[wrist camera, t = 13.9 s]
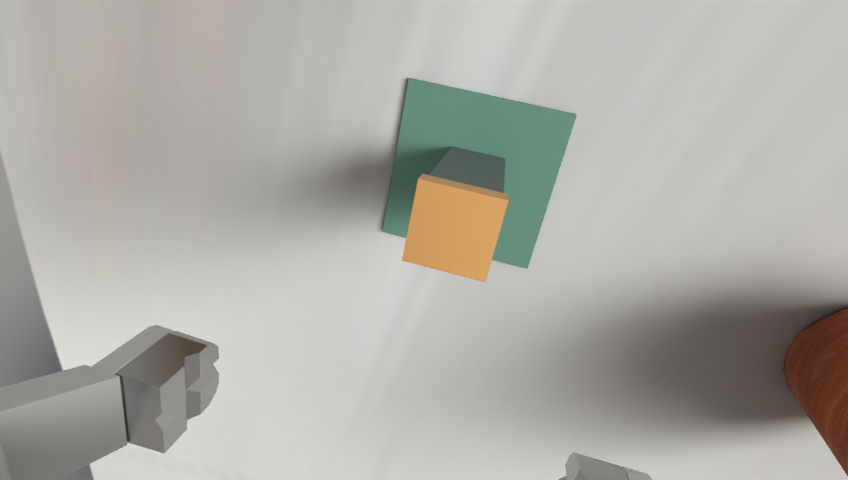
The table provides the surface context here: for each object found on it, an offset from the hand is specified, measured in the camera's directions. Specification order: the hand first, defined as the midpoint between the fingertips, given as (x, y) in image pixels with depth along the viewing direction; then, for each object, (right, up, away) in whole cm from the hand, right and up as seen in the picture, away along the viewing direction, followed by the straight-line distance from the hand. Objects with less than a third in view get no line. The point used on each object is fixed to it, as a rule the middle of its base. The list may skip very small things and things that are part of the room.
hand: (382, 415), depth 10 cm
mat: (+5, +9, +23) cm, 25 cm away
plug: (+5, +9, +23) cm, 25 cm away
